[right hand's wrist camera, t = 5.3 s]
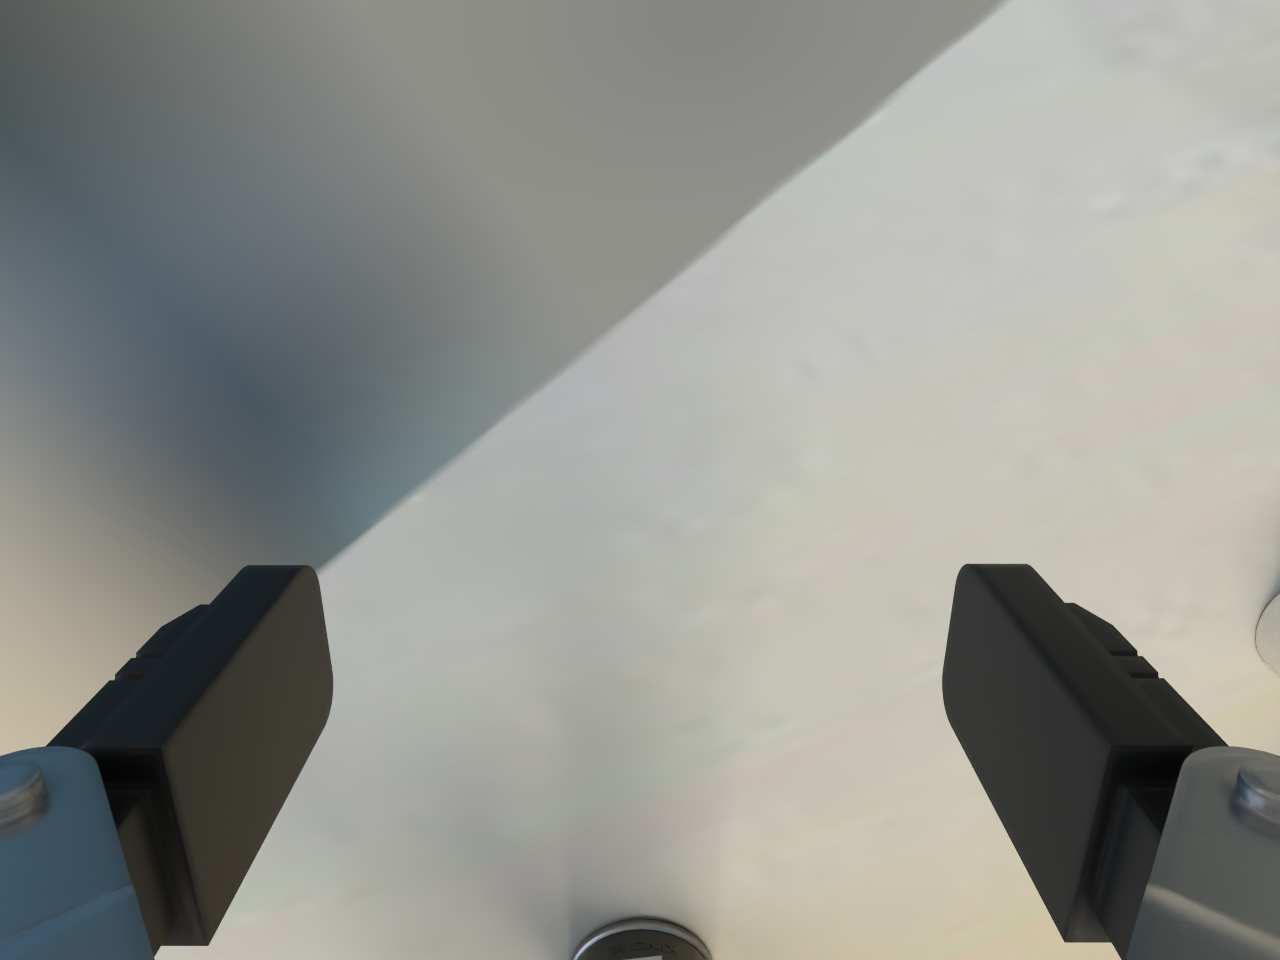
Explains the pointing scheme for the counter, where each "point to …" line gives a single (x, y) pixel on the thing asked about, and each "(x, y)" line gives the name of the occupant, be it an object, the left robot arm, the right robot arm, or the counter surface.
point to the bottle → (1270, 635)
